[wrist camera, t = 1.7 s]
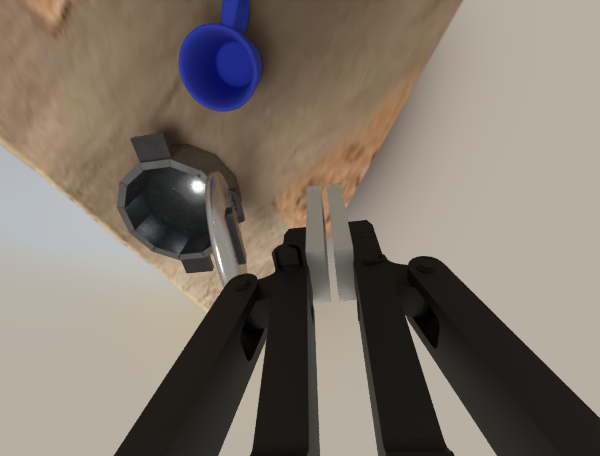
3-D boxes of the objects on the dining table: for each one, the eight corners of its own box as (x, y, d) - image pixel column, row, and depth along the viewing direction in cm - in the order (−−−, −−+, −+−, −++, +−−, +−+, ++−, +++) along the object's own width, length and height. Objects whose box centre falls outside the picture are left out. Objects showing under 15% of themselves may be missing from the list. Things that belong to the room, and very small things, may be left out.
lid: (196, 208, 26) (214, 205, 26) (214, 155, 39) (226, 153, 40) (240, 334, 34) (254, 331, 34) (243, 254, 47) (253, 252, 47)
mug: (283, 4, 37) (275, -7, 29) (260, 106, 43) (248, 121, 35) (216, -20, 36) (186, -40, 28) (202, 87, 42) (174, 98, 34)
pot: (115, 132, 46) (86, 145, 40) (231, 115, 44) (218, 127, 38) (168, 253, 57) (152, 278, 51) (262, 244, 55) (256, 268, 49)
